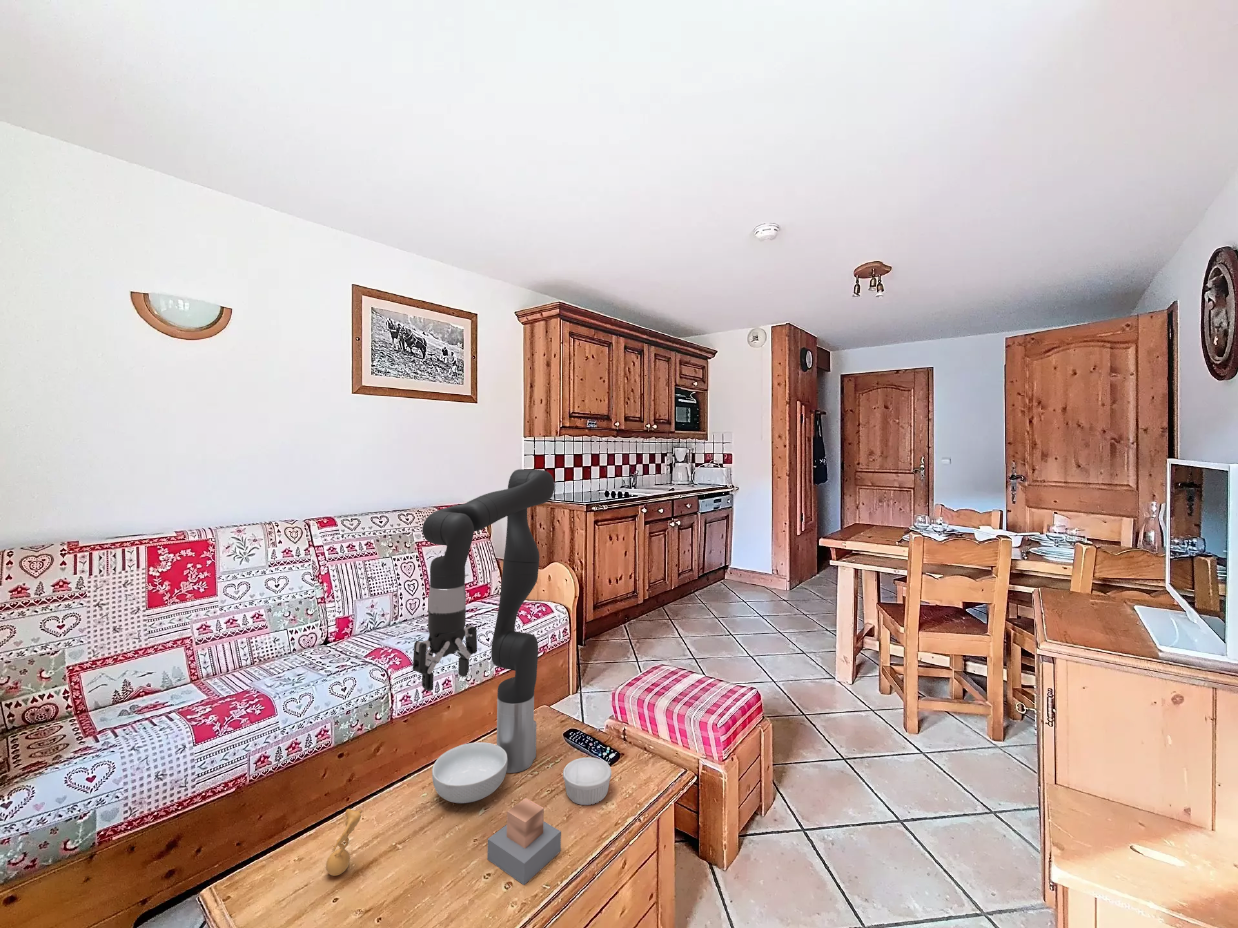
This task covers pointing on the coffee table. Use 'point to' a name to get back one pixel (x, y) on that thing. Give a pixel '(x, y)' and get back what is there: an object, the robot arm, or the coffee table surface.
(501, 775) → the cereal bowl
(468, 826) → the coffee table surface
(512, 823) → the terracotta cube
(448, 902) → the coffee table surface
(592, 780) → the ramekin
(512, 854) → the slate base
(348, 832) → the figurine
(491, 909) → the coffee table surface
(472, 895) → the coffee table surface
